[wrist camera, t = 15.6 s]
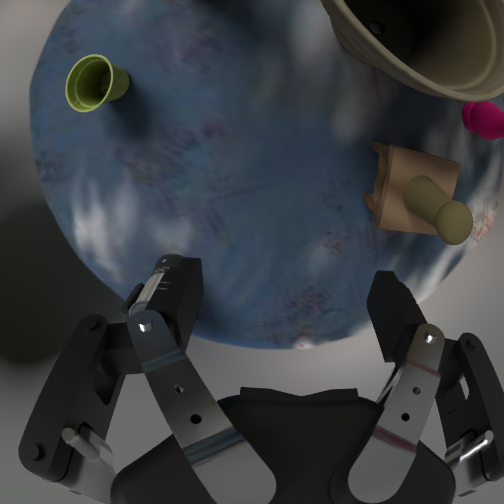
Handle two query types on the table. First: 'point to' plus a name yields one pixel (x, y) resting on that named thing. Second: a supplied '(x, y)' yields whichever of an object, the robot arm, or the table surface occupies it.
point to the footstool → (397, 177)
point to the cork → (438, 209)
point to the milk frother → (148, 286)
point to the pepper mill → (484, 119)
